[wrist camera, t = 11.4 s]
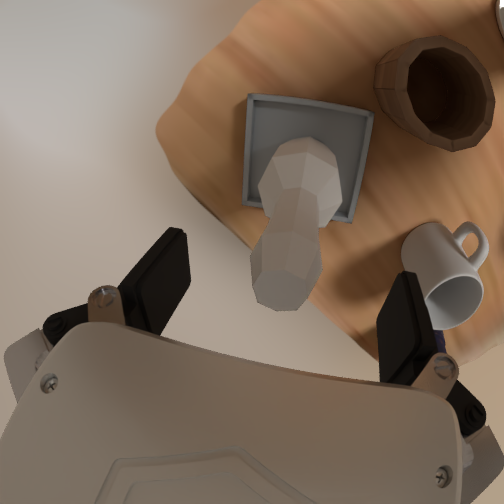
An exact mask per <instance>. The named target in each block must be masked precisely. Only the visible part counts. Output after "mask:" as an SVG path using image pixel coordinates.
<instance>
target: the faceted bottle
mask: <svg viewBox="0 0 504 504" xmlns="http://www.w3.org/2000/svg"><path fill="white" fill-rule="evenodd" d="M258 189H259V193H260V197H261V201H262V205H263V209H264V213H265V216H267V217H269V218H270V220H269V223H268V225H267V227H266V229H265V230H264V232H263V234H262V235H261V237H260V239H259V241H258V243H257V244H256V246H255V248H254V250H253V252H252V253H251V255H250V261H251V274H252V286H253V290H254V292H255V296H256V299H257V302H258V303H260V304H262V305H264V306H266V307H268V308H271V309H273V310H275V311H293V310H298V308H299V307H300V306H301V305H302V304H303V303H304V301H305V300H306V299H307V298H308V296H309V294H310V293H311V291H312V289H313V287H314V285H315V283H316V282H317V280H318V278H319V276H320V274H321V272H322V270H323V269H322V260H321V252H320V244H319V228H323V227H326V225H327V224H328V223H329V221H330V220H331V218H332V217H333V215H334V214H335V212H336V211H337V209H338V208H339V206H340V205H341V203H342V194H341V186H340V179H339V172H338V166H337V162H336V157H335V155H334V154H333V153H332V152H331V150H330V149H329V148H328V147H327V146H326V145H325V144H323V143H322V142H320V141H318V140H316V139H314V138H312V137H311V136H308V137H301V138H294V139H292V140H290V141H288V142H286V143H284V144H282V145H280V146H279V147H278V149H277V150H276V152H275V154H274V155H273V157H272V158H271V160H270V162H269V164H268V166H267V168H266V170H265V172H264V174H263V176H262V178H261V180H260V182H259V184H258Z"/></svg>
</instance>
